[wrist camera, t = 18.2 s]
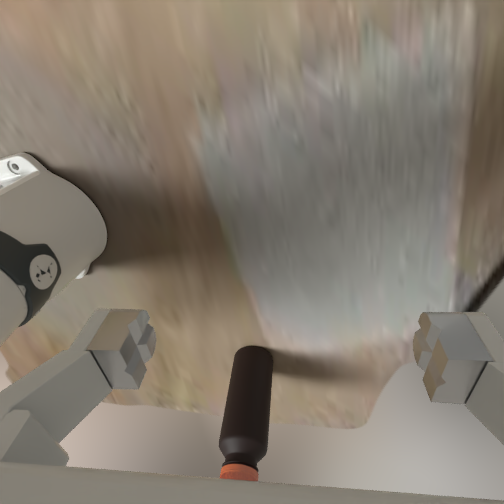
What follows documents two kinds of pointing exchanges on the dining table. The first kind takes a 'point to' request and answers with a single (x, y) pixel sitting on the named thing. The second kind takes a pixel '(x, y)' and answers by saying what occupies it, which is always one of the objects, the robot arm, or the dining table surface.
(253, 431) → the brown bottle
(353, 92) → the dining table surface
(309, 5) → the dining table surface
